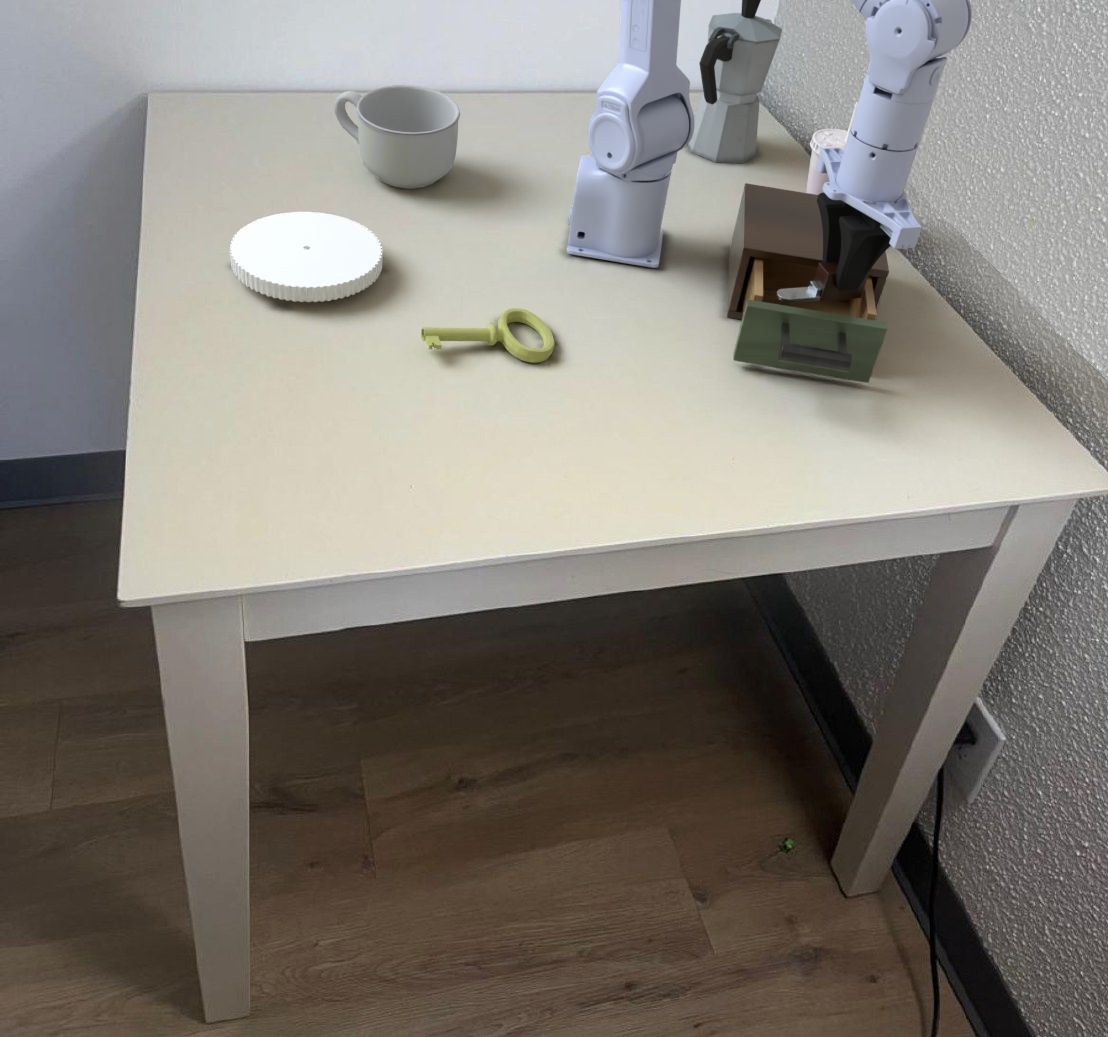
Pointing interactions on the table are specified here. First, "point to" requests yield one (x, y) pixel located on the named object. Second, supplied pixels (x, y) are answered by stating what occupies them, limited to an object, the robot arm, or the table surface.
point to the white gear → (306, 256)
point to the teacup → (403, 133)
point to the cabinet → (780, 238)
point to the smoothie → (819, 140)
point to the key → (498, 335)
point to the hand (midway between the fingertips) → (840, 280)
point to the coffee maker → (733, 84)
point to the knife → (820, 287)
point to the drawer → (806, 325)
